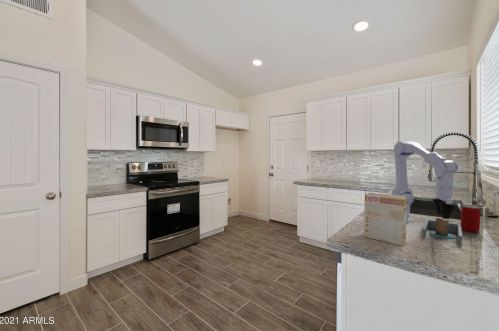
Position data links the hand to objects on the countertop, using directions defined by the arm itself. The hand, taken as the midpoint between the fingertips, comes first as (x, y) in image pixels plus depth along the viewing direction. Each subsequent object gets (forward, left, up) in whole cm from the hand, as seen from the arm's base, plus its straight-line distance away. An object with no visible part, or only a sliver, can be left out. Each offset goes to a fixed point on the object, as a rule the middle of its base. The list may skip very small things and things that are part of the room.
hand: (442, 216), depth 106 cm
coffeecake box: (+23, -19, -9) cm, 31 cm away
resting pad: (0, 0, -9) cm, 9 cm away
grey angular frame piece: (0, 0, -9) cm, 9 cm away
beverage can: (-17, +10, -9) cm, 22 cm away
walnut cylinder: (0, 0, -8) cm, 8 cm away
